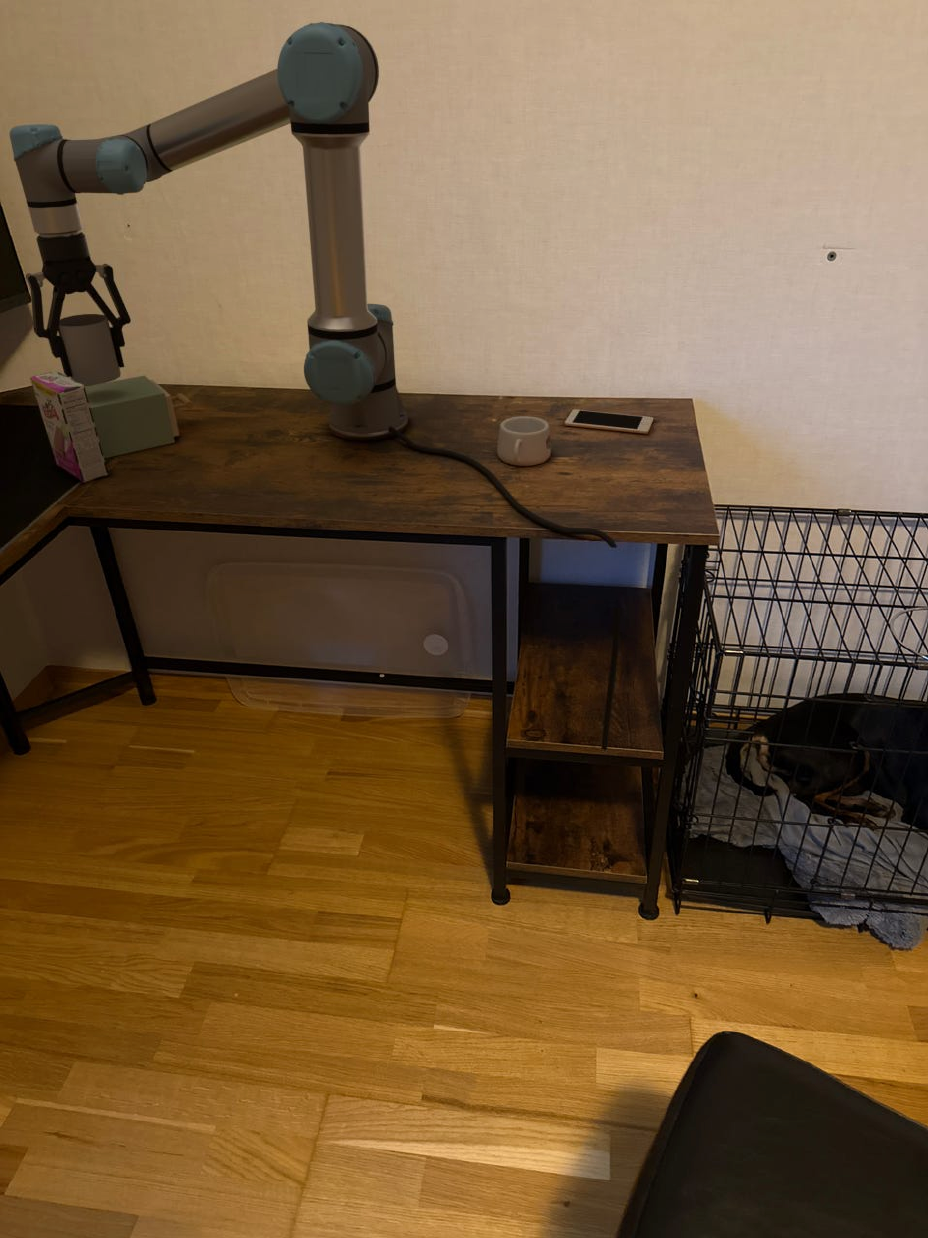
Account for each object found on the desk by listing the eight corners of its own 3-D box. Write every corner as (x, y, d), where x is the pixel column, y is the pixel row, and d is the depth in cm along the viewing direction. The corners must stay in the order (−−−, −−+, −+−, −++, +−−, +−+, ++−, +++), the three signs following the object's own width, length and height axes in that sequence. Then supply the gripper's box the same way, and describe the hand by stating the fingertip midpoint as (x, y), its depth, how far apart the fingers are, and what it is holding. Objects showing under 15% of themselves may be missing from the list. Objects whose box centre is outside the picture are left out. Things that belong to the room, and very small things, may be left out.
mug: (503, 443, 160) (504, 412, 157) (555, 448, 158) (556, 417, 154) (487, 469, 150) (487, 437, 147) (542, 475, 148) (543, 442, 145)
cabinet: (155, 422, 172) (144, 375, 167) (175, 442, 163) (164, 392, 158) (79, 438, 166) (66, 390, 160) (96, 460, 157) (82, 409, 151)
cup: (104, 385, 151) (89, 327, 145) (62, 383, 152) (46, 325, 146) (129, 370, 157) (116, 314, 152) (88, 368, 159) (74, 312, 153)
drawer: (183, 413, 174) (175, 375, 170) (202, 430, 166) (194, 390, 162) (91, 432, 166) (80, 393, 161) (107, 451, 158) (96, 410, 153)
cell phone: (647, 434, 162) (647, 431, 162) (564, 425, 167) (564, 422, 167) (653, 420, 169) (653, 416, 168) (573, 411, 173) (573, 408, 173)
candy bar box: (54, 466, 155) (27, 376, 146) (81, 458, 158) (56, 369, 149) (82, 484, 148) (56, 391, 139) (110, 475, 151) (85, 383, 142)
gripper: (119, 222, 149) (147, 354, 161) (-14, 237, 139) (27, 375, 152) (131, 229, 144) (159, 364, 156) (-6, 244, 134) (36, 387, 147)
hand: (94, 369), depth 154 cm, fingers closed on cup, 8 cm apart
